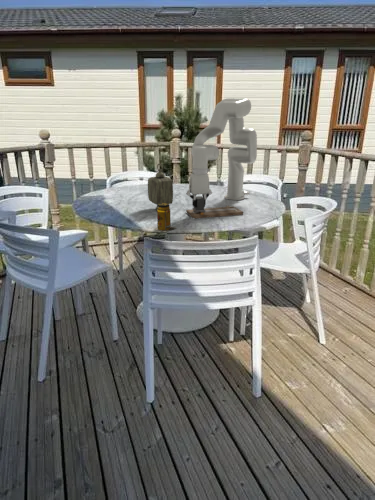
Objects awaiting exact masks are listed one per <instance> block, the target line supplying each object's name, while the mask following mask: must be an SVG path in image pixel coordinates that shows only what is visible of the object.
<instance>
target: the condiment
mask: <svg viewBox="0 0 375 500" xmlns="http://www.w3.org/2000/svg"><path fill="white" fill-rule="evenodd" d="M170 206H171V204H168V203H159V204H158V210H156V211H157V212H156V214H157V220H156V221H157V224H156V225H157V227H156V228H154V230H156V231H159V232H164V233H167V232H170V231H172V230H175V229H177V227H175V226H171V224H172V223H171V208H170Z"/></svg>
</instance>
